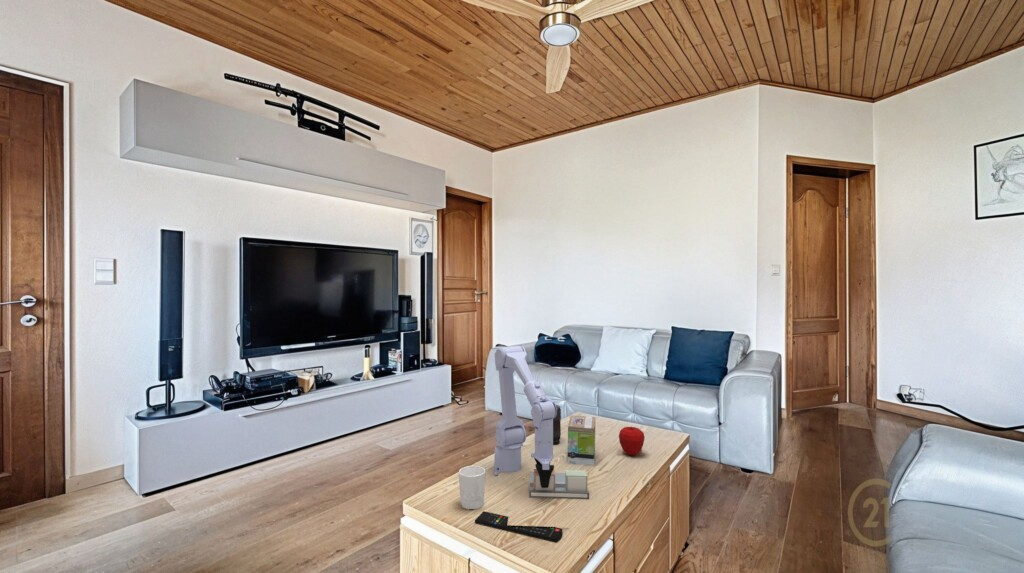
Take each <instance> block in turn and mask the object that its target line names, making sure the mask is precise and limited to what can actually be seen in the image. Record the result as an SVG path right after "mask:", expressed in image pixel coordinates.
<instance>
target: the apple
mask: <svg viewBox="0 0 1024 573" xmlns="http://www.w3.org/2000/svg"><path fill="white" fill-rule="evenodd" d="M645 437H646V436H645V434H644V432H643V431H642V429H640V428H638V427H636V426H624V427H623V428H621V429H620V430H619V434H618V439H619V444H620V446H621V449H622V451H623V452H624V453H625V454H626V455H628V456H629V455H631V456H632V457H633V456H636V455H639V454H640V453H641V451H642V449H643V447H644V442H645ZM631 456H630V457H631Z"/></svg>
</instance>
